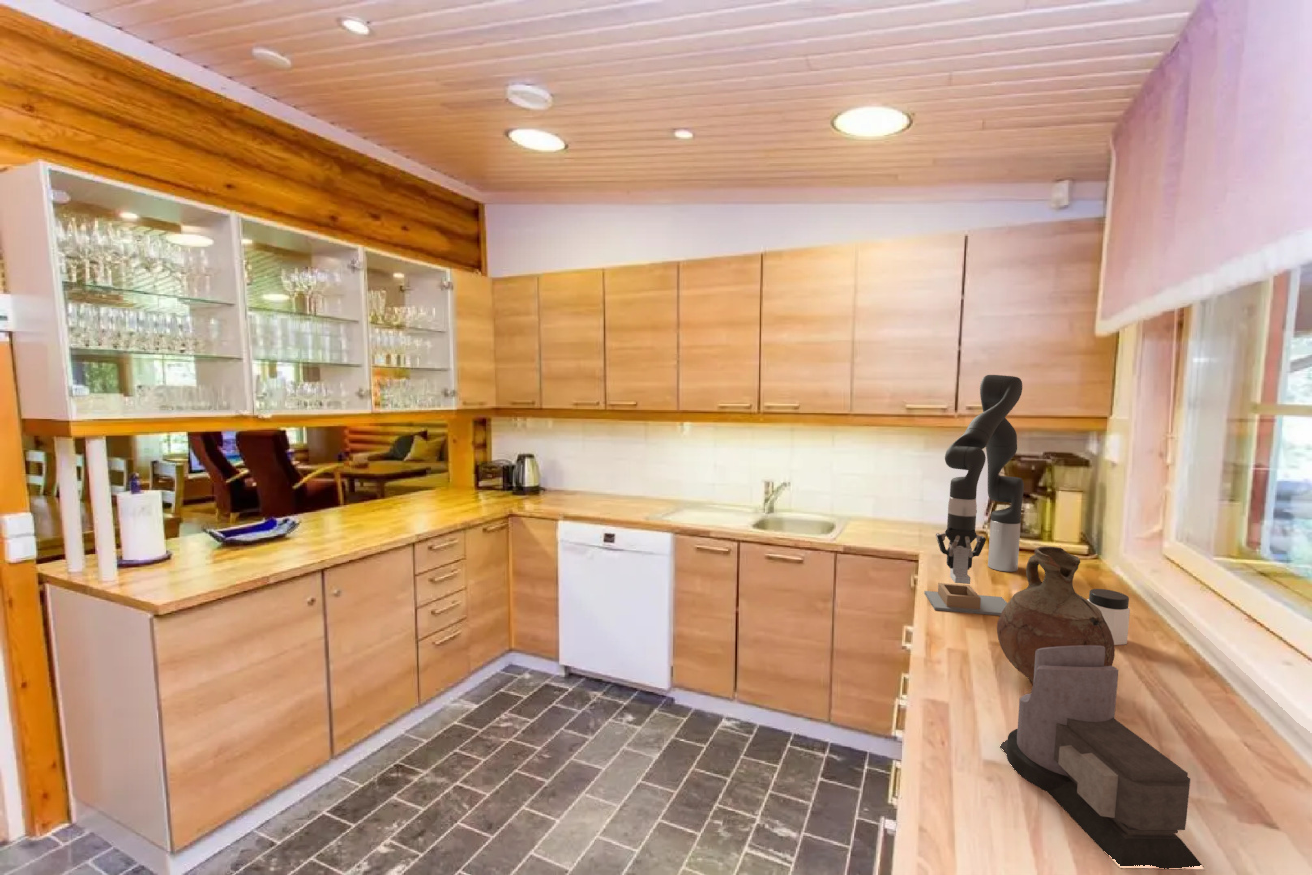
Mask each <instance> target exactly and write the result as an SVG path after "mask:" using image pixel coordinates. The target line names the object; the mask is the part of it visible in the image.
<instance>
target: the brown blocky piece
mask: <svg viewBox="0 0 1312 875" xmlns="http://www.w3.org/2000/svg"><path fill="white" fill-rule="evenodd" d="M1104 659H1105V647H1104V646H1097V645H1076V646H1057V647H1046V648H1040V649H1037V650H1036V653H1035V667H1034V681H1033V683H1032V688H1031V691H1030V693H1026V694H1024V695H1021V696H1020V697H1019V703H1018V716H1017V728H1015V729H1013V730H1012V731H1011V732H1010V733H1008V735H1007V739H1006V740H1004V741H1005V742H1004V741H1002V742H1001V743H1002V744H1001V743H1000V744H1001V746H1000V745H999V746H1000V747H999V748H1000V749H1001V748H1002V749H1003V750H1004V751H1003V750H1002V749H1001V750H1002V751H1003V752H1005V753H1006V754H1007V755H1006V754H1005V755H1006V758H1007V759H1008V760H1007V761H1008V764H1009V765H1010V764H1011V765H1012V766H1011V765H1010V766H1011V768H1012V767H1013V768H1014V769H1013V768H1012V769H1013V770H1014V771H1015V770H1016V771H1017V772H1016V771H1015V772H1016V773H1017V774H1018V775H1019V774H1020V775H1021V776H1020V775H1019V776H1020V777H1022V778H1023V779H1025V780H1026V781H1027V782H1029V783H1030V784H1031V785H1034V786H1035V787H1037V788H1039V789H1041V790H1043V791H1045V792H1047V793H1048V794H1049V795H1050V796H1051V798H1052V799H1054V801H1055V802H1056V803H1057V804H1058V805H1059V806H1060V807H1062V808H1063V810H1064V811H1065V812H1066V813H1067V815H1069V816H1070V817H1071V818H1072V819H1073V821H1075V823H1076V824H1077V825H1078V826H1079V827H1080V829H1082V830H1083V831H1084V832H1085V833H1086V834H1087V835H1088V836H1089V837H1090V839H1092V840H1093V842H1094V843H1095V844H1096V845H1097V846H1098V847H1099V848H1100V849H1101V850H1102V851H1103V852H1104V851H1105V852H1106V853H1107V854H1108V855H1110V856H1111V857H1112V859H1115V860H1116V862H1117V863H1118V864H1120V866H1134V865H1135V866H1136V865H1137V866H1138V865H1139V866H1140V865H1143V866H1145V865H1150V866H1151V865H1152V866H1156V867H1159V868H1164V869H1163V870H1170V869H1169V868H1182V867H1189V866H1190V867H1192V866H1193V867H1194V866H1200V865H1203V864H1202V863H1201V862H1200V860H1199V859H1198V858H1197V857H1196V856H1195V854H1194V853H1193V852H1192V851H1191V850H1190V848H1189V847H1188V846H1187V845H1186V844H1185V842H1184V841H1183V840H1182V839H1181V838H1180V837H1179V836H1178V835H1176V834H1179V831H1186V824H1187V816H1188V806H1189V798H1190V797H1189V796H1190V786H1191V778H1190V777H1189V775H1188V774H1189V773H1188V772H1187V771H1186V770H1185V769H1183V768H1182V767H1180V766H1179V765H1178V764H1176V762H1174V761H1172V760H1171V759H1170V758H1169V757H1166V756H1165V755H1164V754H1163V753H1162V752H1161V751H1159V750H1158V749H1156V748H1155V747H1153V746H1152V745H1151V744H1149V743H1148V742H1147V741H1146V740H1144V739H1143V738H1142V737H1140V736H1139V735H1137V734H1136V733H1135V732H1133V731H1132V730H1131V729H1129V728H1128V727H1126V726H1125V725H1124V724H1123V723H1121V722H1120V721H1119V720H1117V719H1116V718H1115V717H1116V716H1115V714H1116V704H1117V691H1118V690H1117V689H1118V679H1119V669H1118V668H1117V667H1116V666H1113V665H1112V666H1104ZM1105 852H1104V853H1105ZM1106 853H1105V854H1106ZM1107 854H1106V855H1107ZM1108 855H1107V856H1108ZM1165 868H1167V869H1165Z"/></svg>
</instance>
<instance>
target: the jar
mask: <svg viewBox="0 0 1312 875" xmlns="http://www.w3.org/2000/svg"><path fill="white" fill-rule="evenodd" d="M1086 600H1088V601H1089V602H1091V603H1092V604H1093V605H1095V606H1096V607H1097V608H1098V609H1099V610H1100V611H1101V613H1102V616H1103V618H1104V620H1105V622H1106V623H1107V625H1108V627H1109V629H1110V631H1111V634H1112V637H1113V640H1114V646H1121V645H1127V644H1128V637H1129V625H1130V614H1131V611H1130V610H1131V609H1130V608H1129V602H1130V598H1129V596H1128V595H1126V594H1125V593H1122V592H1120V591H1115V590H1111V589H1105V588H1104V589H1103V588H1092V589H1090V590H1089V592H1088V598H1086Z"/></svg>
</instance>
